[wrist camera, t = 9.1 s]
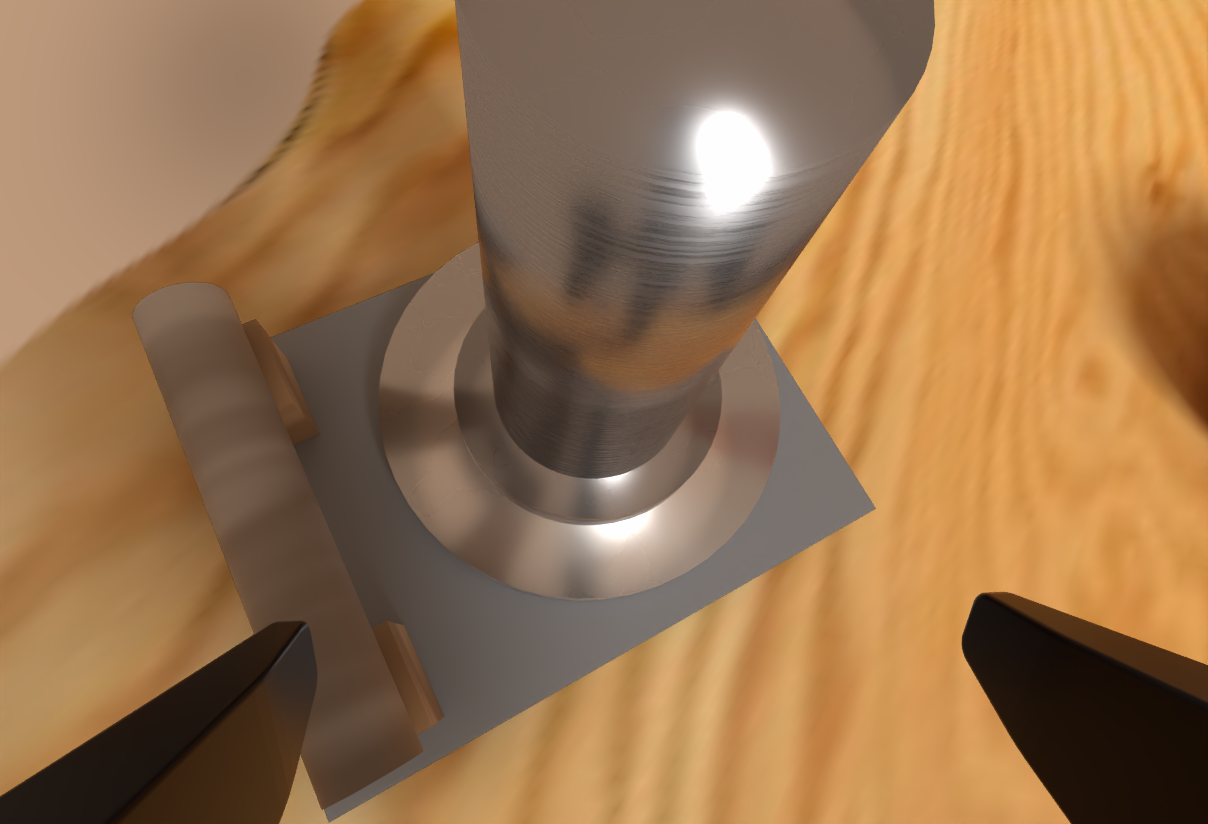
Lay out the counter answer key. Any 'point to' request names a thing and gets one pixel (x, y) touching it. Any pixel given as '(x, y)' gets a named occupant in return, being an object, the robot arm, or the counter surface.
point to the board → (487, 608)
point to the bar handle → (283, 532)
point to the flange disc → (527, 541)
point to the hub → (648, 217)
